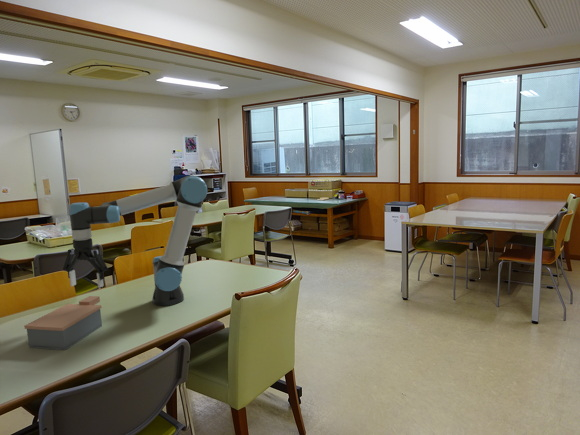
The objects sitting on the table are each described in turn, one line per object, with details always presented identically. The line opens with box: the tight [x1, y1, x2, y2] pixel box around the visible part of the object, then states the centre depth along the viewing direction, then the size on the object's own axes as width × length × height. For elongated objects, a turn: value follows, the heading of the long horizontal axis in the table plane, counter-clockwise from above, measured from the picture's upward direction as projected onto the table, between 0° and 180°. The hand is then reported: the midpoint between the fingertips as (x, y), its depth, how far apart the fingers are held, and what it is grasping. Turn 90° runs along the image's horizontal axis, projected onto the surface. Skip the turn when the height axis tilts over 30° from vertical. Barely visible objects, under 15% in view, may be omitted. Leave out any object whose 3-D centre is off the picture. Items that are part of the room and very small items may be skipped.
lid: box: [24, 295, 102, 331], centre depth 171 cm, size 17×30×4 cm, turn 169°
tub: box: [26, 309, 103, 351], centre depth 169 cm, size 16×22×8 cm
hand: (87, 286), depth 181 cm, fingers open, 13 cm apart
